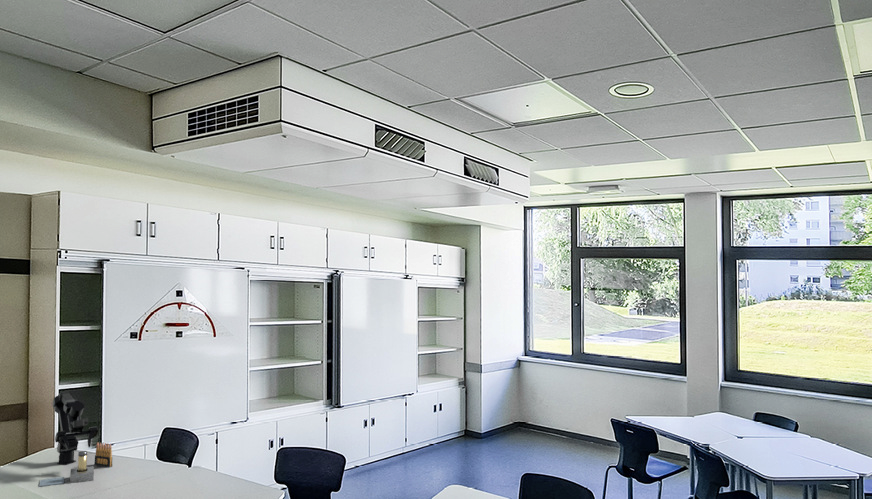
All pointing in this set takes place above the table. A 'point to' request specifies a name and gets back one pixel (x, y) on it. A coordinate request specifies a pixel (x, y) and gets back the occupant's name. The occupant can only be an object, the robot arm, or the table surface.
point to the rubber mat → (51, 481)
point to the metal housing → (81, 475)
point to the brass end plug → (82, 461)
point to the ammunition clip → (103, 455)
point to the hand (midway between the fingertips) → (79, 448)
